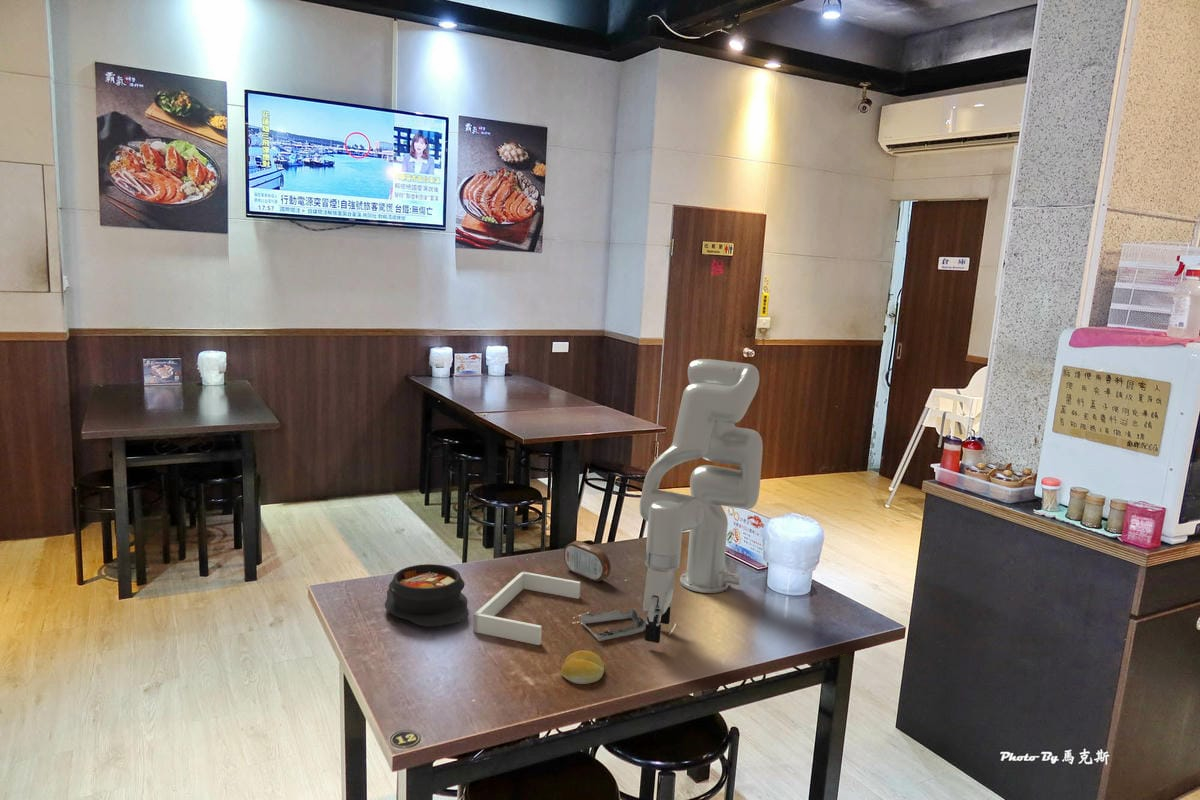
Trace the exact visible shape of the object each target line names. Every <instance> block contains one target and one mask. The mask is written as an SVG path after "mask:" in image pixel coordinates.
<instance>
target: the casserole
mask: <svg viewBox="0 0 1200 800" xmlns="http://www.w3.org/2000/svg"><path fill="white" fill-rule="evenodd" d="M465 585H466V584H465V581H464V579H463V578H462V576H461V574H460V572H459V571H458V570H456V569H455V568H453V567H452V566H451V567H450V566H446V565H441V564H431V563H430V564H426V563H425V564H416V565H412V566H408V567H405V568H402V569H400V570H398V571H397V572H396V573H395V574H394V575H393V578H392V579H391V581H390V582H389V583H388V589H387V591H386V600H385V603H384V608H385V609H386V611H387V612H388V613H390V614H391V615H393V616H395V617H397V618H400V619H403V620H407V621H410V622H412V623H414V624H415V625H418V626H421V627H429V628H430V627H442V626H446V625H447V626H449V625H451V624H454V623H458V622H461V621H462V620H465V619H466V618H468V617H469V615H470V613H469V610H468V598H467V597H466V596H465V595H464V594H463V593H462V591H463V589H464V588H465Z"/></svg>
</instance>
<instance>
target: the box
mask: <svg viewBox="0 0 1200 800" xmlns="http://www.w3.org/2000/svg"><path fill="white" fill-rule="evenodd" d="M523 590H529V591H532V592H533V591H534V592H539V593H545V594H549V595H550V594H552V595H556V596H562V597H566V598H573V599H578V600H579V599H580V598H581V581H577V580H572V579H568V578H567V579H566V578H561V577H554V576H549V575H545V574H540V573H539V574H537V573H533V572H528V571H527V572H526V571H521V572H520V573H518V574H517V575H516V576H515V577H514V578H513V579H512V580H510V581H509V582H508V583H507V584H506V585H505V586H504V587H502V588H501V589H500V590H499V591H498V592H497V593H496V594H495V595H494V596H492V598H490V599H489V600H488V601H487V602H486V603H485V604H484V605H483V606H482V607H480V608H479V609H478V610H477V611H475V613H473V623H472V625H473V627H472V632H473V633H477V634H483V635H488V636H492V637H497V638H502V639H506V640H512V641H517V642H523V643H527V644H531V645H536V646H540V645H541V643H542V630H543V629H542V627H543V626H542V625H540V624H539V625H538V624H534V623H530V622H523V621H520V620H519V621H518V620H514V619H510V618H504V617H499V616H497V614H498V613H500V612H501V611H502V609H504V608H505V606H507V605H508V604H509V603H510V602H511V601H512V600H513V599H514V598H515V597H517V595H518V594H520V593H521V591H523Z"/></svg>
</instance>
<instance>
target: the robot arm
mask: <svg viewBox="0 0 1200 800" xmlns="http://www.w3.org/2000/svg"><path fill="white" fill-rule="evenodd" d="M687 379H688V383H689V384H688V385H687V386H686V387H685V389H684V390H683V393H682V396H681V401H680V405H679V409H678V410H679V411H678V414H677V419H676V425H675V429H674V434H673V438H672V443H671V445H670V446H669V447H668V449H666V450H664V452H663V453H661V454H660V455H659V456H658V457H657V458H656V459H655V460H654V462H652V464H651V466H650V467H649V468H648V471H647V473H646V474H645V476H644V477H645V478H644V481H643V486H642V489H641V490H642V491H641V495H640V498H639V500H640V501H639V514H640V517H641V518H642V519H644V520H645V521H646V522H647V529H646V530H647V531H646V532H647V533H646V544H645V545H646V546H645V547H646V549H645V561H644V564H645V567H647V571H646V577H645V578H646V579H645V583H644V584H645V585H644V593H643V594H644V596H643V602H642V611H643V612H645V613H646V612H647V616H646V621H645V622H646V625H645V629H644V631H645V633H644V641H645V642H651V643H654V644H659V643H660V642H661V632H662V631H661V630H662V625H663V624H664V625H669V624H670V619H671V604H672V600H673V596H674V588H675V574H676V570H678V569H679V568H680V566H681V556H682V555H681V553H682V541H683V532H686V531H689V535H688V536H689V538H688V551H687V552H688V553H687V562H686V563H687V564H686V572H684V573H682V574H681V575H680V577H679V583H680V584H681V586H683V587H684V588H686V589H688V590H689V591H690V590H691V591H693V592H698V593H701V594H702V593H703V594H704V593H705V594H717V592H718V593H722V592H724V590H725V591H726V590H727V589H728V588H729V585H730V584H733V585H736V586H737V585H738V586H740V584H741V577H738V574H736V573H729V572H728V571H727V567H726V566H725V559H726V548H727V546H726V545H727V539H728V538H727V536H728V535H727V533H728V526H729V524H728V523H729V522H728V516H727V514H726V512H725V510H724V508H723V506H724V507H730V508H734V509H741V510H749V509H752V508H754V507H756V505H757V504H758V500H759V496H760V487H761V476H762V475H761V474H762V463H763V449H764V446H763V439H762V436H761V435H760V433H759V432H758V431H756V430H755V429H751V428H745V427H738V426H736V425H735V424H737V423H739V422H740V421H741V420H743V418H744V417H745V415H746V413H747V411H748V408H749V407H750V405H751V403H752V401H753V399H754V398H755V396H756V393H757V391H758V389H759V384H760V373H759V370H758V369H757V367H756V366H755V365H753V364H751V363H746V362H737V361H727V360H721V359H720V360H719V359H710V358H699V359H694V360H692V361H690V363H689V364H688V367H687ZM701 458H702V459H703V460H706V461H708V462H712V463H719V464H725V465H730V466H736V467H739V469H736V468H735V469H734V468H729V467H723V466H717V465H711V464H710V465H709V464H704V465H699V466H697V467H696V468H694V469H693V470H692V472H691V475H690V478H689V491H690V495H689V494H684V493H683V494H682V493H678V492H672V491H667V490H662V489H659V488H660V483H661V481H662V479H663V477H664V476H665V474H666V473H667V472H668V471H669V470H670V469H672V468H674V467H676V466H678V465H680V464H683V463H686V462H690V461H694V460H698V459H701Z"/></svg>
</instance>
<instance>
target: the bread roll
mask: <svg viewBox="0 0 1200 800" xmlns="http://www.w3.org/2000/svg"><path fill="white" fill-rule="evenodd" d="M604 670H605V665H604V662H603V660H602V658H601V657H600V656H599V655H598V654H596V653H595V652H594V651H589V650H577V651H574V652H572V653H571V654H569V655H567V657H566V658H565V660H564V663H563V665H562V667H561V669H560V673H561V676H562V677H563V678H564V679H566V680H568V681H569V682H571V683H573V684H577V685H588V684H592V683H596V682H598V681H599V680H600V679H601V678H602V677H603V675H604Z"/></svg>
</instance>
